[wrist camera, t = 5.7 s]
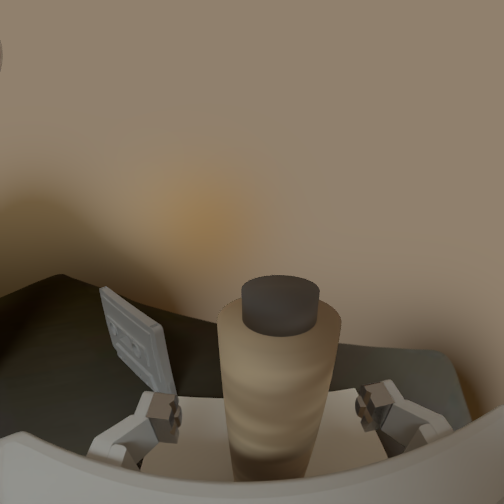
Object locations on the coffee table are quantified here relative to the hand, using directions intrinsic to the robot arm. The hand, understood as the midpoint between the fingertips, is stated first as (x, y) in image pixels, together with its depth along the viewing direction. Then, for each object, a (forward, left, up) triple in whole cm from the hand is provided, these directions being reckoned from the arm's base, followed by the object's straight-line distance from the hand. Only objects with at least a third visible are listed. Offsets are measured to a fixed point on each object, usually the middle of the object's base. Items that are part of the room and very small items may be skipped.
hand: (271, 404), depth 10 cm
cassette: (-12, +12, -9) cm, 19 cm away
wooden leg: (0, -1, -7) cm, 7 cm away
